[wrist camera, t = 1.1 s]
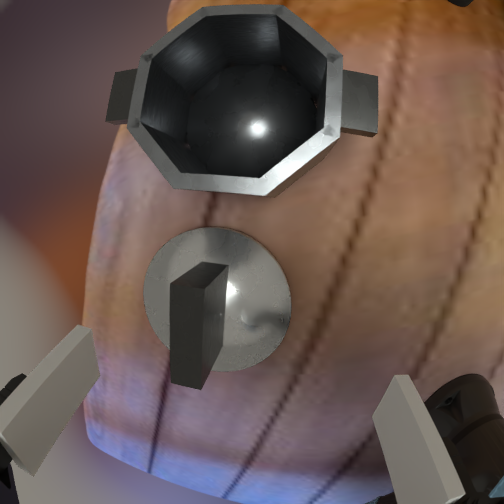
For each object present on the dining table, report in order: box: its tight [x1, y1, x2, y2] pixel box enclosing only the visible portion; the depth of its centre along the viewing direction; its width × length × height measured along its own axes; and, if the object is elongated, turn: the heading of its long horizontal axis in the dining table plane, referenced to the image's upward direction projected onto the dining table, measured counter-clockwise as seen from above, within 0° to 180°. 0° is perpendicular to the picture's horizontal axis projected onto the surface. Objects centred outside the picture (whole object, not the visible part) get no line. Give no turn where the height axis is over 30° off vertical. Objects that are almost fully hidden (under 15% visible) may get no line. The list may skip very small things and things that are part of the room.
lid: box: [143, 227, 291, 390], centre depth 30 cm, size 18×18×12 cm
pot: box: [106, 4, 378, 198], centre depth 25 cm, size 17×23×12 cm
